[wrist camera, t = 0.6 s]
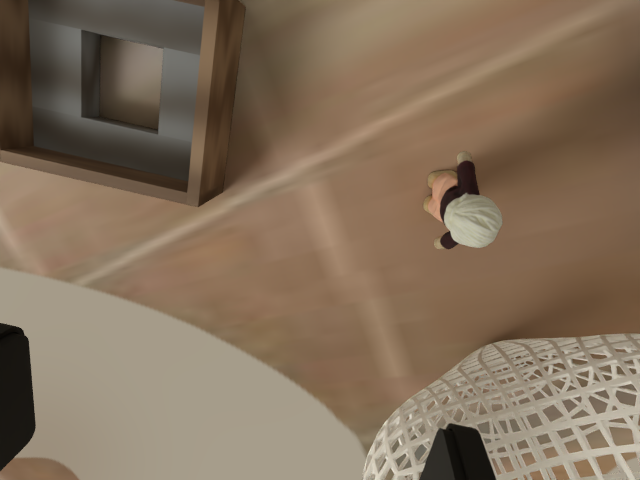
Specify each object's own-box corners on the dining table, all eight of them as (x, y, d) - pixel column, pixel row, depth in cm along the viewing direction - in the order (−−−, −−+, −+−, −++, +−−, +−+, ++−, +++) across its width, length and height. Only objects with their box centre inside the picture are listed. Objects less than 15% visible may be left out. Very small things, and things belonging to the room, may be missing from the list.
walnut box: (38, -38, 33) (-28, -68, 27) (245, 6, 33) (221, -15, 27) (44, 151, 38) (-11, 159, 33) (222, 192, 38) (197, 207, 32)
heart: (393, 442, 45) (419, 729, 24) (338, 333, 41) (313, 562, 21) (658, 369, 39) (1000, 671, 18) (622, 233, 35) (1003, 416, 14)
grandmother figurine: (461, 228, 37) (509, 286, 25) (419, 229, 37) (446, 286, 25) (466, 143, 34) (522, 162, 22) (421, 145, 35) (452, 165, 23)
